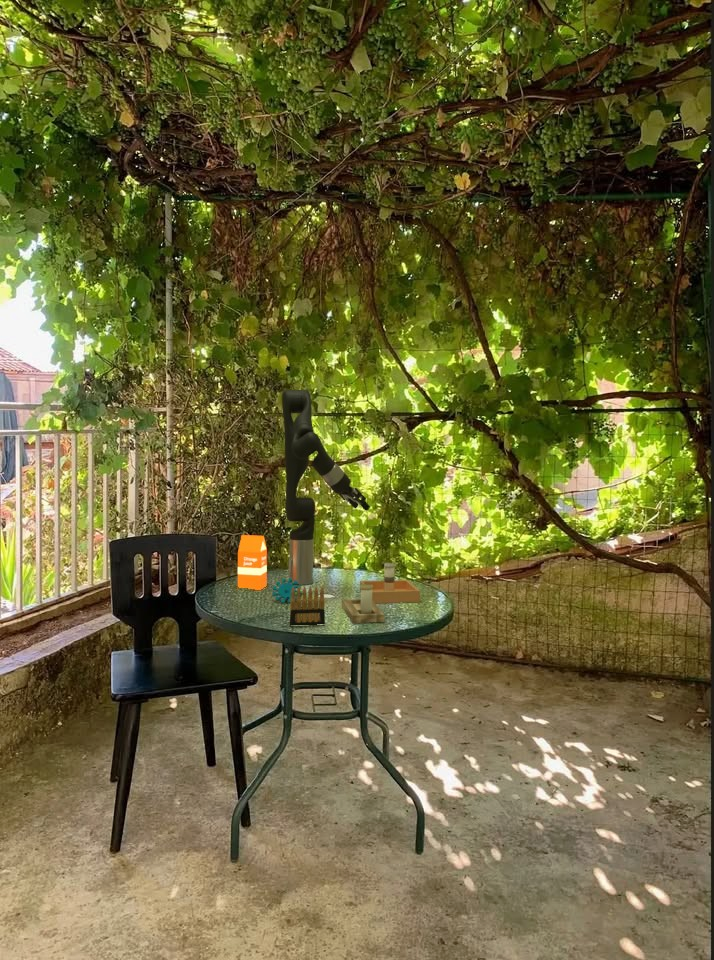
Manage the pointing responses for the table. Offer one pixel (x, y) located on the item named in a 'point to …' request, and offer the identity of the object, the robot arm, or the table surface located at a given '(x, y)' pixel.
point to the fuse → (366, 598)
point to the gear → (286, 590)
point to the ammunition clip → (307, 607)
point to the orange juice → (252, 562)
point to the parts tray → (394, 592)
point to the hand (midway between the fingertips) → (362, 507)
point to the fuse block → (354, 608)
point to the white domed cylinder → (389, 576)
